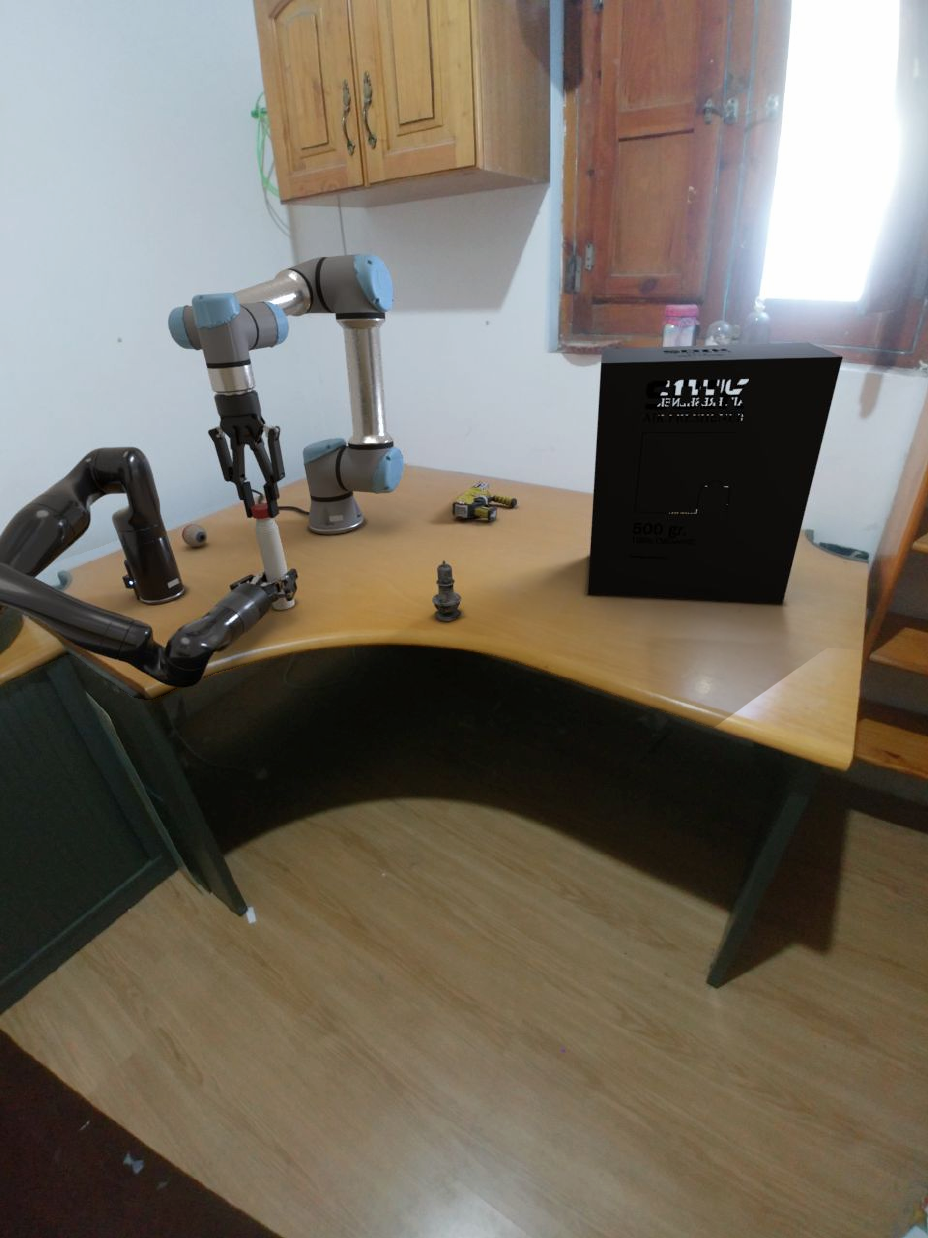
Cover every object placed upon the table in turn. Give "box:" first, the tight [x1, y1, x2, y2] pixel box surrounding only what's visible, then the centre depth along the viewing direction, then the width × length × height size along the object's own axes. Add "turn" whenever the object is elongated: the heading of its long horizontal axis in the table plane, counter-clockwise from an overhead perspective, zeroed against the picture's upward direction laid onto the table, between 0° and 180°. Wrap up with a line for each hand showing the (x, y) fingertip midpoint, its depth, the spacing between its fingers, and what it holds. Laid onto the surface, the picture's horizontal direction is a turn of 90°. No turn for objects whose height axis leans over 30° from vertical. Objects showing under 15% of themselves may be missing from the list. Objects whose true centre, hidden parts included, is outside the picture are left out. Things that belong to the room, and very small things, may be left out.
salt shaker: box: [431, 560, 462, 622], centre depth 119 cm, size 6×6×12 cm
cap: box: [251, 502, 270, 520], centre depth 119 cm, size 4×4×2 cm
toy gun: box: [451, 480, 518, 523], centre depth 174 cm, size 5×24×15 cm
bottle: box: [254, 517, 296, 611], centre depth 124 cm, size 4×4×22 cm
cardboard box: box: [587, 342, 844, 605], centre depth 120 cm, size 38×20×45 cm, turn 78°
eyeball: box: [181, 523, 208, 548], centre depth 159 cm, size 6×6×6 cm
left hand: (284, 571), depth 128 cm, fingers closed on bottle, 4 cm apart
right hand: (263, 515), depth 119 cm, fingers closed on cap, 4 cm apart
